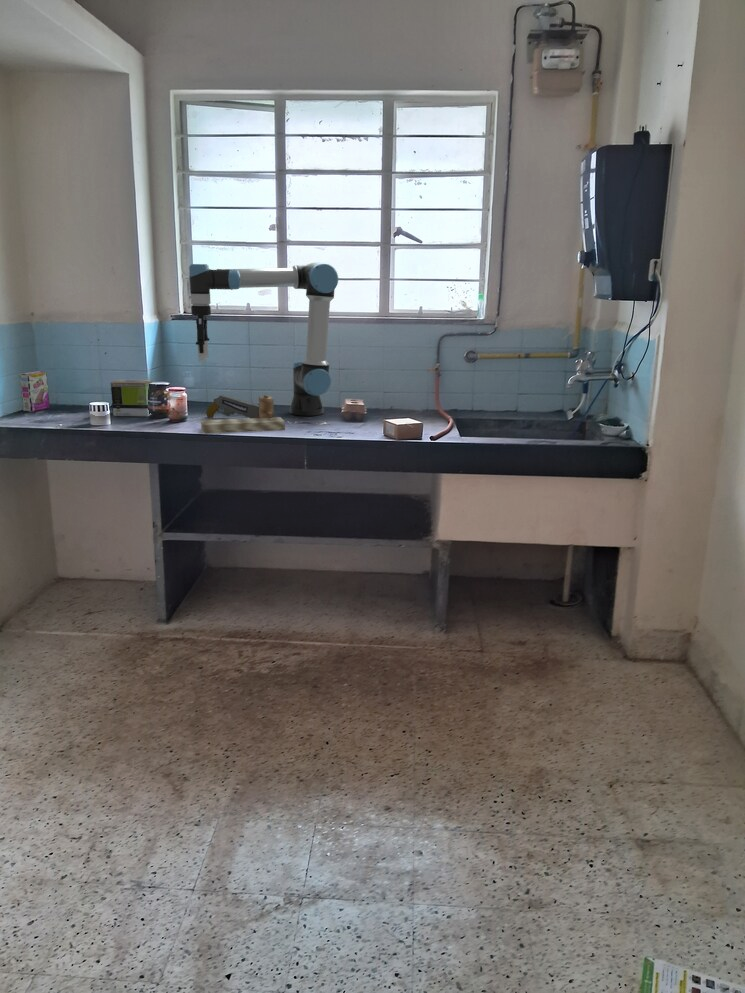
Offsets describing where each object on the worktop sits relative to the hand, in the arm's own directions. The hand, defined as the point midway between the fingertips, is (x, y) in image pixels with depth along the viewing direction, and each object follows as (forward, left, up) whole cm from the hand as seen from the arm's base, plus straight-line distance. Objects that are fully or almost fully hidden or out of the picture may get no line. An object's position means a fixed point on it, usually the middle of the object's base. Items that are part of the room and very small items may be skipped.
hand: (203, 359), depth 294 cm
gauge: (-24, +10, -26) cm, 37 cm away
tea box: (+28, -25, -27) cm, 46 cm away
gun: (-14, -7, -27) cm, 31 cm away
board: (-13, +15, -26) cm, 33 cm away
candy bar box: (+68, -44, -27) cm, 86 cm away
